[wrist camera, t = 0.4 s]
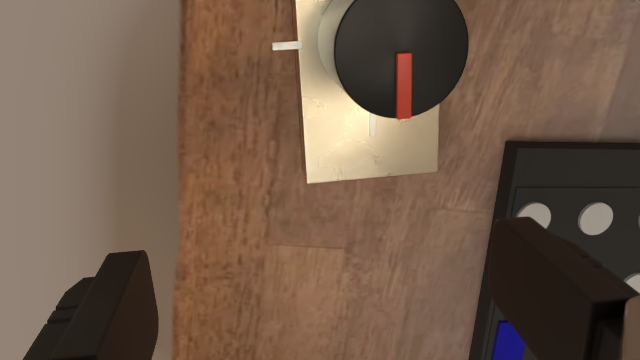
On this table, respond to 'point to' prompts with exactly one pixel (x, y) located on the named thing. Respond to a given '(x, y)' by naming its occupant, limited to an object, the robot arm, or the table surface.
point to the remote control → (565, 218)
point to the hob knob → (394, 52)
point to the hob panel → (350, 119)
